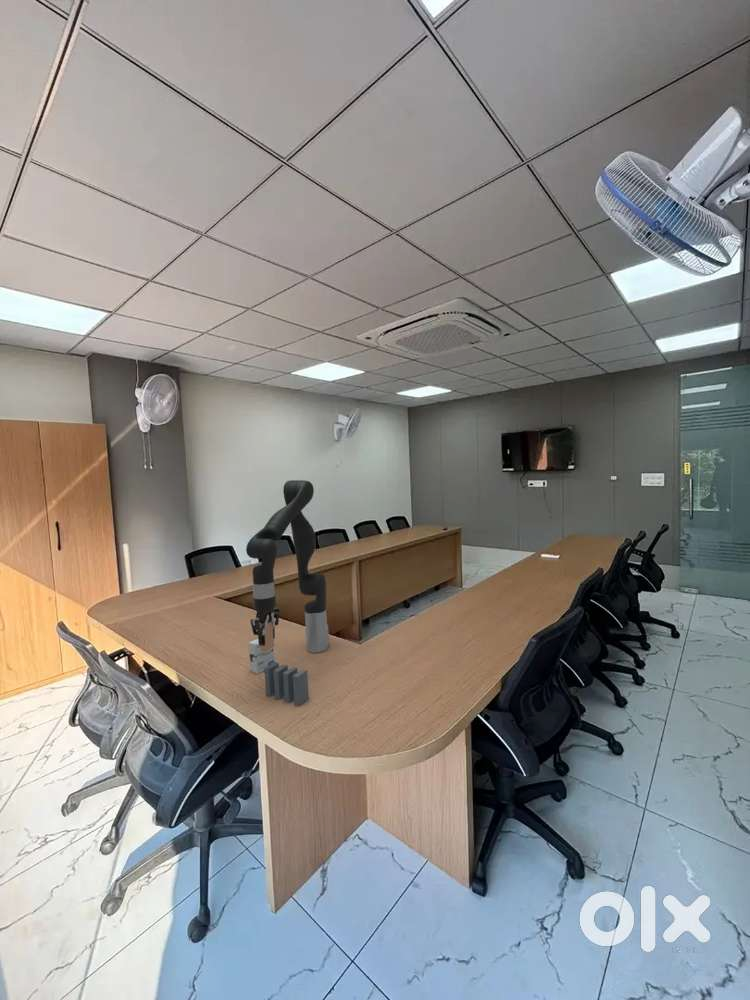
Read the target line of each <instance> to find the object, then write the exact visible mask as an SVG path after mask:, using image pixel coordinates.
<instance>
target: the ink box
mask: <svg viewBox="0 0 750 1000" xmlns="http://www.w3.org/2000/svg"><path fill="white" fill-rule="evenodd" d="M248 653H249V654H248V655H249V657H248V658H249V667H250V669H249V670H250V672H251V673H253V674H255V675H259V674H261V673H262V672H264V668H265V667H267V666H269V665H270V664H272V663H274V662H275V652H274V647H272V648H271V649H269V650H268V651H266V652H263V651H261V646H260V645H259V641H258V638H256V639H254V640H251V641H249V642H248Z"/></svg>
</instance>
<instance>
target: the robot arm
mask: <svg viewBox="0 0 750 1000" xmlns="http://www.w3.org/2000/svg"><path fill="white" fill-rule="evenodd" d="M282 493H283V499H284V503H285V506H284V507H282V508H281V509H279V510H277V511H276V512H274V514H273V515H271V517H270V518H269V519H268V521H267V523H266V524H265V525H264V527H263V528H262V529H260V530H259V531H258V532H257V533H255V534H254V535H253V536H252V537H251V538H250V540H248V542H247V544H246V547H245V549H246V550H245V551H246V555H247V556H248V558H251V559H255V560H256V559H259V560H261V564H258V565H255V566H254V567H253V568H252V581H253V582H252V585H253V587H252V595H253V596H252V597H253V609H254V610H255V612H256V614H255V617H254V619H253V618H251V619H250V627H251V629H252V630H251V631H252V633H253V635H254V636H257V639H258V641H259V645H261V646H264V645H265V635H264V634H265V629H266V628H267V624H268V623H269V622H271V621H272V622H271V623H272V626H273V639H276V637H275V636H276V631H275V630H276V627H277V626H278V625H279V621H280V620H279V618H280V609H279V608H278V607H276V606H277V599H276V586H275V579H274V569H275V567H274V566H275V564H276V563H275V562H276V558H277V552H278V547H277V543H276V542H277V541H279V540H280V539H281V537H282V536H283V535H284V533H285V531H286V530H287V529H288V527H289V525H290V527H291V534H292V542H293V547H294V553H295V558H296V563H297V574H298V587H299V591H300V593H301V594H302V595H304V596H315V599H313V600H311V601H308V602H306V603H305V604H304V619H305V640H306V650H307V652H309V653H311V654H312V653H313V654H319V653H323V652H325V651H328V649H329V647H330V636H329V635H330V634H329V624H327V623H328V621H327V581H326V576H325V575H324V574H323V573H309V563H310V561H311V559H312V557H313V555H314V553H315V550H316V548H317V539H316V534H315V530H314V528H313V526H312V524H311V523H310V522H309V520H308V519H307V518H306V516H304V514H303V512H302V511H303V510H304V509H305V507H306V506H307V505H308V504H309V503H310V502H311V500H312V499H313V497H314V494H315V490H314V485H313V484H312V482H311V481H310V480H301V479H300V480H299V479H297V480H293V479H292V480H287V481H286V482H285V483H284V485H283V492H282ZM259 623H262V624H264V626H260V625H259ZM260 628H262V632H261V629H260Z"/></svg>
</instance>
